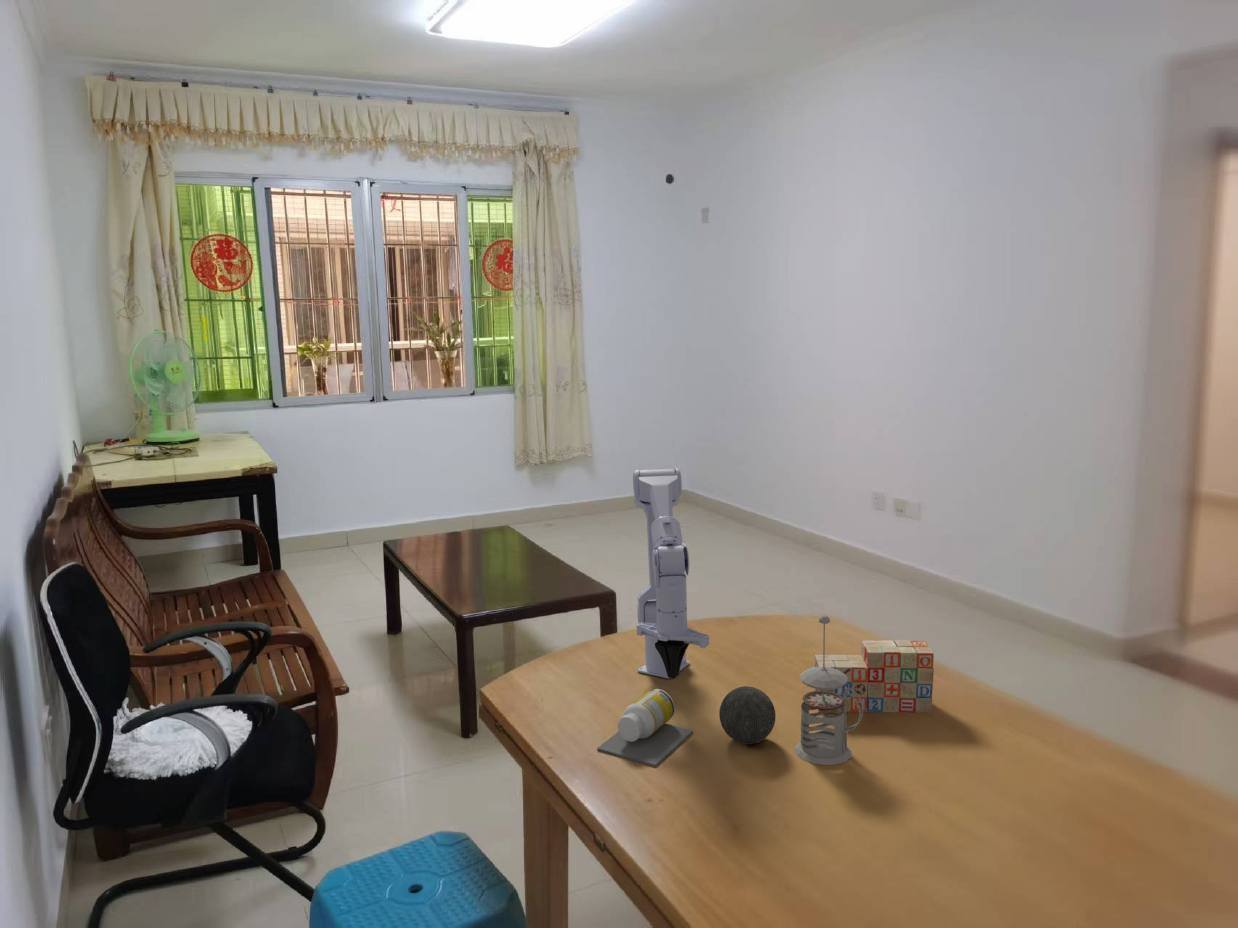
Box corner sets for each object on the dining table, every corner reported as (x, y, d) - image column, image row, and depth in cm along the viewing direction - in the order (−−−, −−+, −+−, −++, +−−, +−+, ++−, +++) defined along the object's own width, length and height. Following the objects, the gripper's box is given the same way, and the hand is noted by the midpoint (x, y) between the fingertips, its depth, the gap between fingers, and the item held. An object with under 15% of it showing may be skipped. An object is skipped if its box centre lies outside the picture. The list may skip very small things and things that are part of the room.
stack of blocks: (818, 712, 171) (818, 652, 169) (813, 698, 177) (814, 639, 175) (932, 713, 169) (934, 652, 167) (924, 698, 175) (926, 639, 173)
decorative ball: (770, 757, 155) (770, 704, 153) (714, 750, 158) (713, 697, 156) (779, 731, 164) (779, 680, 162) (726, 724, 167) (725, 674, 165)
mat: (637, 718, 171) (637, 716, 171) (693, 732, 165) (693, 730, 164) (597, 750, 159) (597, 748, 159) (655, 766, 153) (655, 764, 153)
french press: (805, 732, 163) (806, 602, 159) (869, 747, 157) (871, 612, 153) (786, 756, 155) (786, 620, 150) (852, 773, 149) (854, 631, 144)
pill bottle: (643, 709, 171) (609, 735, 162) (651, 681, 169) (617, 705, 159) (671, 726, 168) (639, 753, 159) (679, 697, 166) (647, 723, 156)
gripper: (627, 608, 167) (629, 676, 170) (696, 620, 159) (697, 691, 162) (646, 597, 173) (648, 663, 175) (713, 608, 165) (714, 677, 168)
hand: (673, 676), depth 169 cm, fingers closed
